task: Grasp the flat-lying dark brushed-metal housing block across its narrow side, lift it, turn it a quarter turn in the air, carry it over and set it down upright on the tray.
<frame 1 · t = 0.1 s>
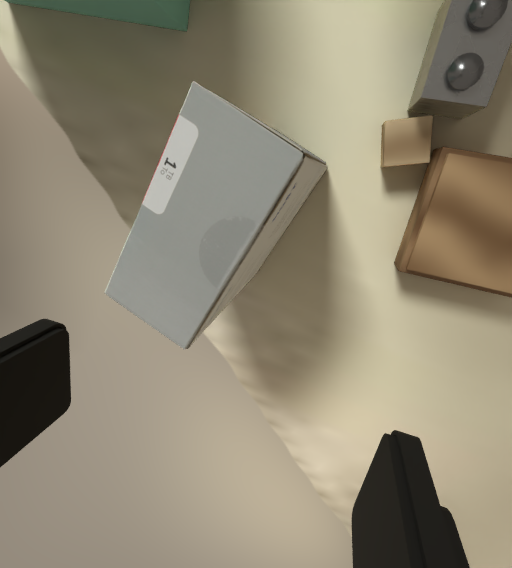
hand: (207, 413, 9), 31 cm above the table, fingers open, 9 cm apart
oak offcut: (402, 144, 33), on the table
housing: (449, 67, 30), on the table
tray: (472, 221, 33), on the table
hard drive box: (263, 206, 38), on the table
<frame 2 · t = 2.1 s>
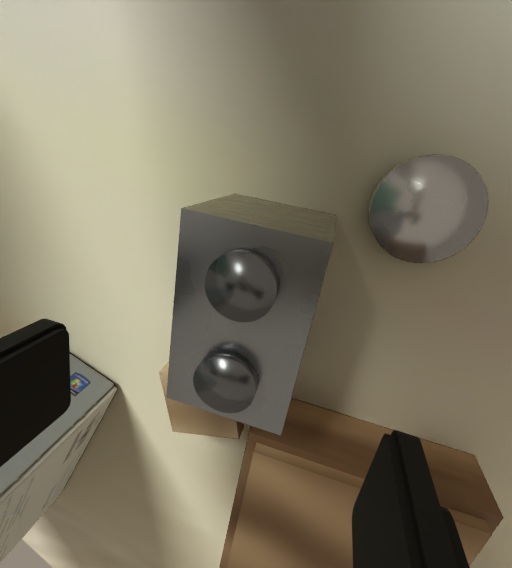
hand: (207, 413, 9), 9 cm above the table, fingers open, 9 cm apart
oak offcut: (218, 373, 20), on the table
housing: (269, 279, 17), on the table
tray: (336, 490, 21), on the table
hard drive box: (52, 416, 26), on the table
chrome dome: (420, 208, 14), on the table
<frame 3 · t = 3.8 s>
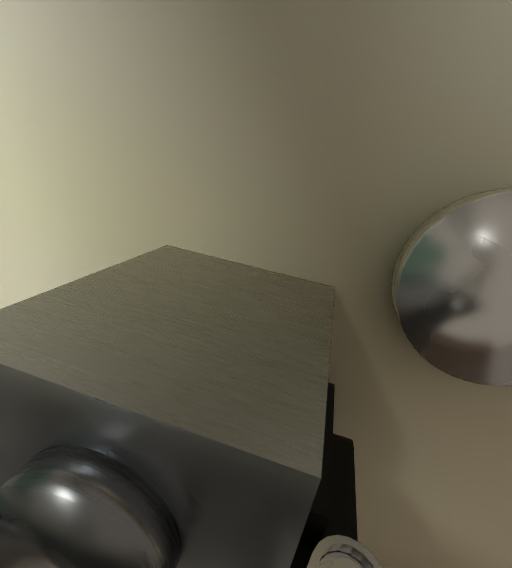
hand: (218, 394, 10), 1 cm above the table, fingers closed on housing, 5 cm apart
housing: (226, 380, 11), on the table, touching gripper
chrome dome: (485, 280, 8), on the table
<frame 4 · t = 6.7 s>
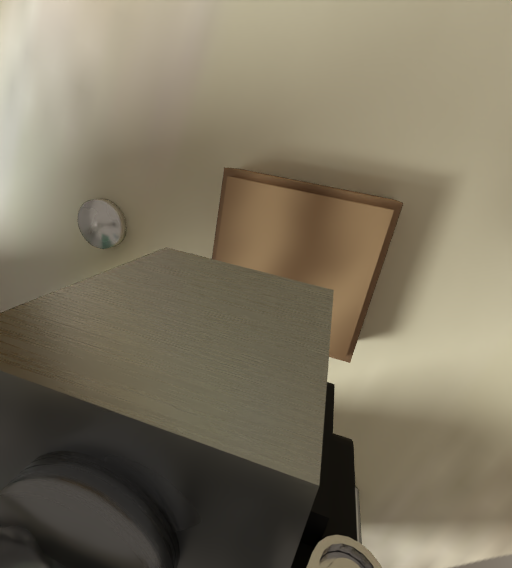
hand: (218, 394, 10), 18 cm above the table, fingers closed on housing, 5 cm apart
housing: (225, 382, 11), point 17 cm above the table, touching gripper
tray: (296, 258, 26), on the table
chrome dome: (107, 222, 30), on the table
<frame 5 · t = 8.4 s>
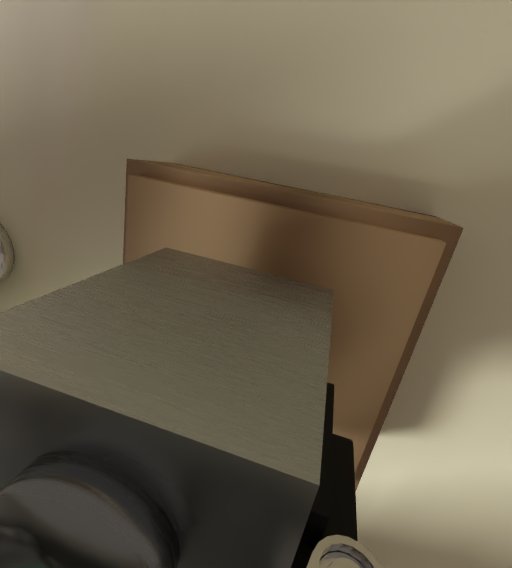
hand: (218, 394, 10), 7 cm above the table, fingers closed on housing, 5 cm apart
housing: (225, 382, 11), point 6 cm above the table, touching gripper
tray: (267, 308, 16), on the table
when the fingers open (6 cm above the table, at t = 9.6 s): housing drops 1 cm, resting on tray.
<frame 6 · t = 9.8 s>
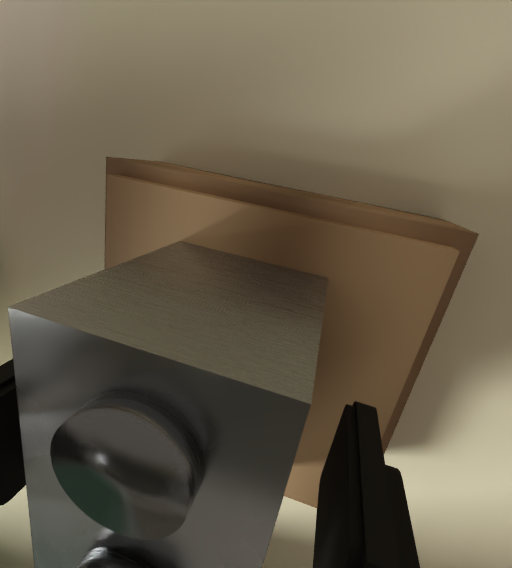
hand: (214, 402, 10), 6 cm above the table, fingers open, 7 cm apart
housing: (232, 362, 12), point 4 cm above the table, touching tray
tray: (262, 317, 15), on the table
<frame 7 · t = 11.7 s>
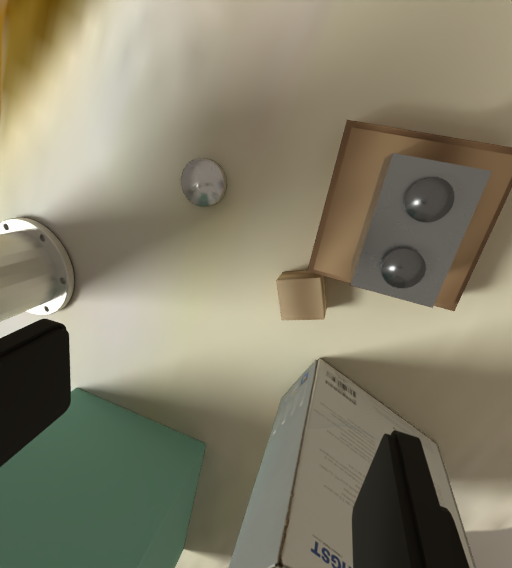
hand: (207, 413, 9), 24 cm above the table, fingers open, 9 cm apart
oak offcut: (304, 289, 32), on the table
housing: (400, 221, 24), point 4 cm above the table, touching tray
tray: (397, 214, 28), on the table
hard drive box: (356, 419, 35), on the table
box: (133, 470, 49), on the table
chrome dome: (207, 182, 32), on the table
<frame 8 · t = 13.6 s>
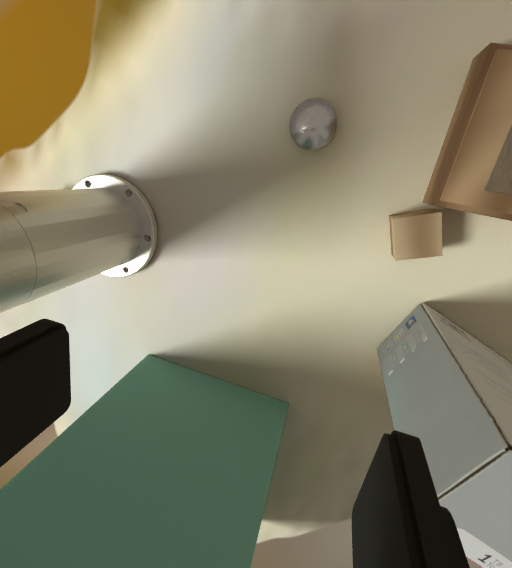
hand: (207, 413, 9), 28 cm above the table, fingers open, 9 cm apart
oak offcut: (411, 232, 33), on the table
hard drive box: (455, 364, 36), on the table
box: (204, 439, 48), on the table
chrome dome: (313, 126, 32), on the table
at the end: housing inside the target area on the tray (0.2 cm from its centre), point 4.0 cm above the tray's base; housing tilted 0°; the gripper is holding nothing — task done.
